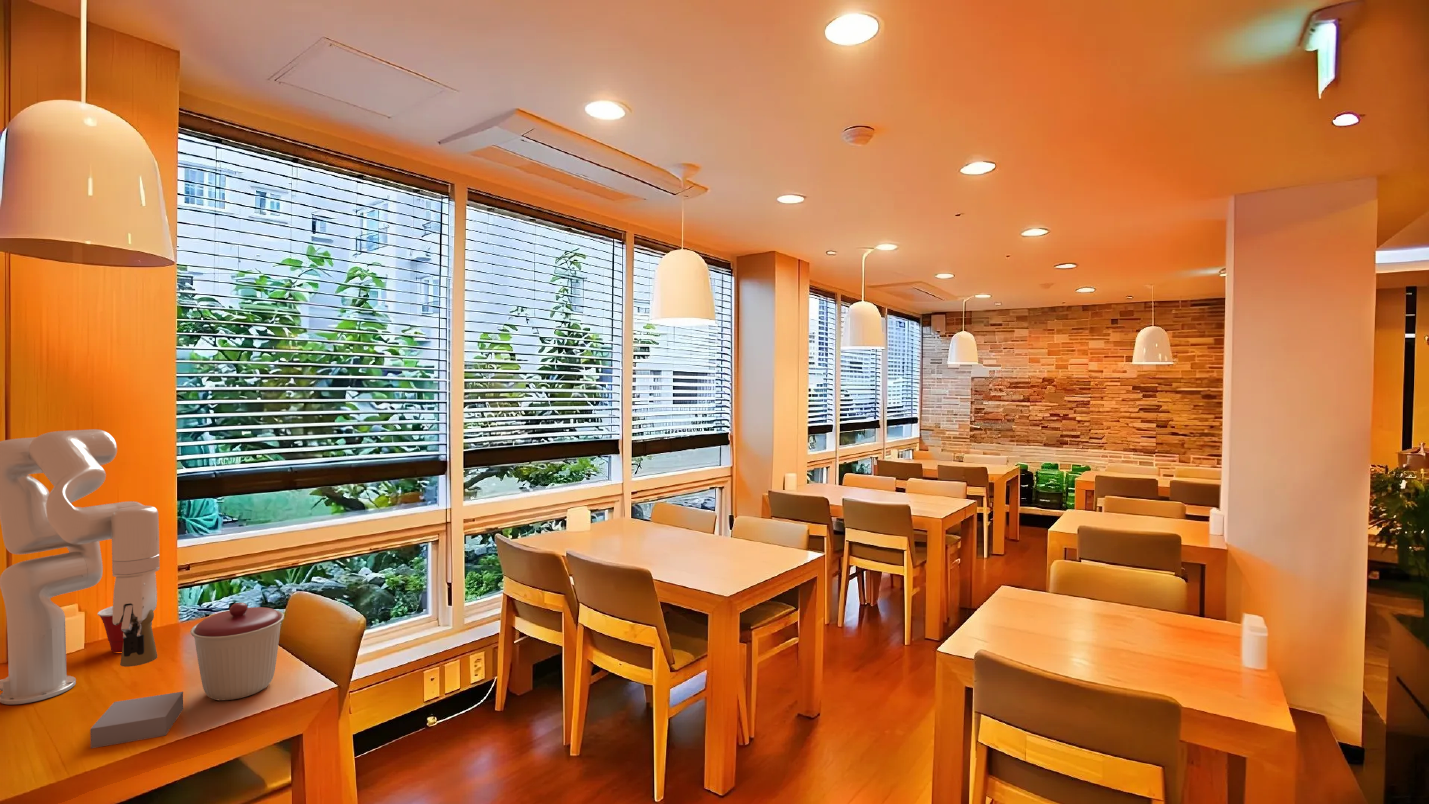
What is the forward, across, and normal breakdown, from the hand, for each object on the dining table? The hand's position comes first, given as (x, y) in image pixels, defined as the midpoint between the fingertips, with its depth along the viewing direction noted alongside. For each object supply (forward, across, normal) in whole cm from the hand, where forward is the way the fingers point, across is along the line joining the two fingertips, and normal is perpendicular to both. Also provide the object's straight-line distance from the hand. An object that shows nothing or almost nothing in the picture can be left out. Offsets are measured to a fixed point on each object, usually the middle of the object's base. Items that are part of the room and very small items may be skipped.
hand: (138, 649), depth 140 cm
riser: (+17, 0, 0) cm, 17 cm away
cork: (+2, 0, 0) cm, 2 cm away
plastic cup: (+17, -52, -18) cm, 58 cm away
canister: (+17, -12, +15) cm, 26 cm away
